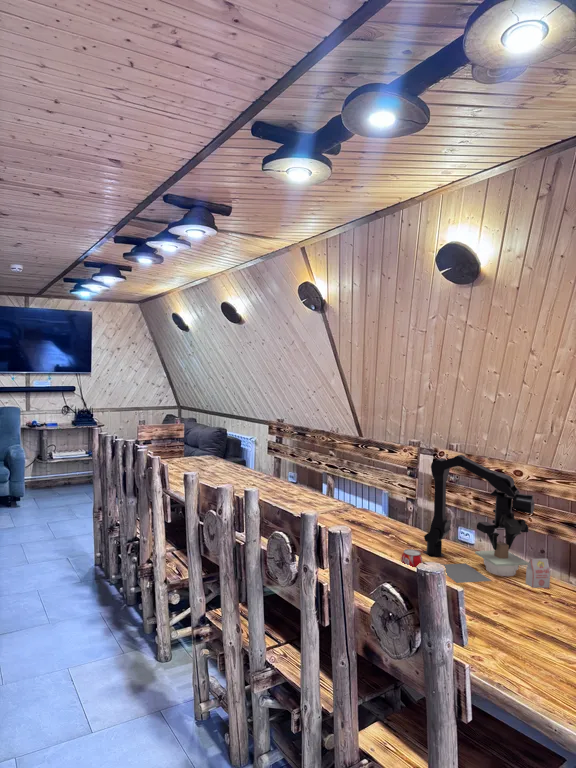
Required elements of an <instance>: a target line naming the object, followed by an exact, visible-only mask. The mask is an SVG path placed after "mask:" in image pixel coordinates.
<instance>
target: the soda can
mask: <svg viewBox="0 0 576 768" xmlns="http://www.w3.org/2000/svg"><path fill="white" fill-rule="evenodd" d="M421 554H422V553H421V551H420V550H417V549H413V548H412V549H411V548H410V549H409V548H407V549H404V550H403V553H402V555H401V561H400V562H402V563H404V564H407V565H410V566H412V567H416V566H417V565H418V564H419V563H422V564H423V557H422V555H421Z"/></svg>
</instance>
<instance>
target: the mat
mask: <svg viewBox="0 0 576 768" xmlns="http://www.w3.org/2000/svg"><path fill="white" fill-rule="evenodd" d="M441 565H444V566H445V568H446V573H447V575H446V577H448V578H449V579H451V580H453V582H455V583H456V584H461V583H464V584H465V583H479V582H480V583H481V582H492V580H491V579H490V578H489V577H487V576H485V575H484V574H482V573H481V572H479V571H477V570H476V569H475V568H474V567H473V566H470V565H468V563H466V562H465V563H448V564H447V563H445V564H441Z"/></svg>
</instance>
